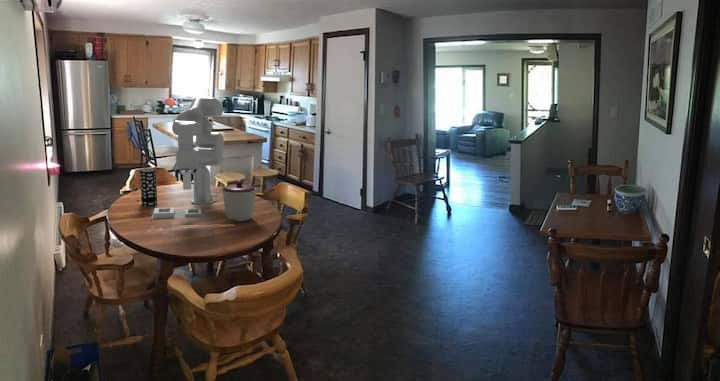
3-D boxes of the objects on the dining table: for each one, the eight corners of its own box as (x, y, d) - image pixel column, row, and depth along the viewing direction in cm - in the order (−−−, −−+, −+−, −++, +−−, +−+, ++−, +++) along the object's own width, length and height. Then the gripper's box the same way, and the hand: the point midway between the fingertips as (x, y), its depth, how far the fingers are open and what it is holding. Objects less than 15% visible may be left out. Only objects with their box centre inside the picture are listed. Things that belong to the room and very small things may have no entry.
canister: (226, 225, 271) (225, 185, 266) (218, 216, 286) (217, 178, 282) (261, 222, 279) (261, 182, 274) (251, 213, 294) (251, 176, 290)
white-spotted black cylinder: (151, 207, 299) (150, 172, 294) (138, 205, 300) (136, 171, 296) (160, 203, 307) (158, 169, 302) (147, 202, 308) (145, 168, 304)
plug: (191, 187, 283) (190, 168, 281) (191, 189, 277) (190, 170, 275) (183, 187, 282) (182, 168, 279) (183, 189, 276) (182, 170, 274)
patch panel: (203, 212, 292) (203, 205, 291) (204, 219, 279) (204, 212, 278) (153, 214, 284) (153, 207, 284) (151, 221, 271) (151, 214, 270)
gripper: (202, 145, 281) (203, 179, 285) (168, 146, 276) (170, 180, 280) (202, 147, 274) (203, 182, 278) (168, 148, 269) (169, 183, 273)
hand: (186, 181), depth 279 cm, fingers closed on plug, 4 cm apart
